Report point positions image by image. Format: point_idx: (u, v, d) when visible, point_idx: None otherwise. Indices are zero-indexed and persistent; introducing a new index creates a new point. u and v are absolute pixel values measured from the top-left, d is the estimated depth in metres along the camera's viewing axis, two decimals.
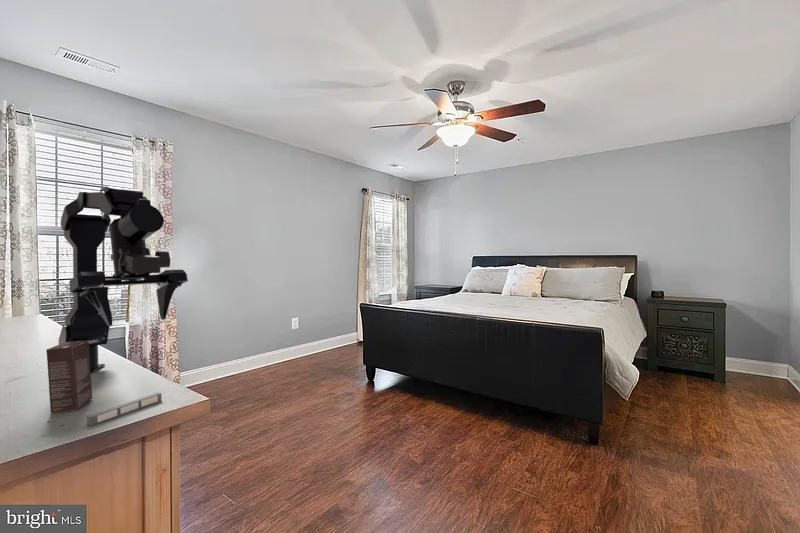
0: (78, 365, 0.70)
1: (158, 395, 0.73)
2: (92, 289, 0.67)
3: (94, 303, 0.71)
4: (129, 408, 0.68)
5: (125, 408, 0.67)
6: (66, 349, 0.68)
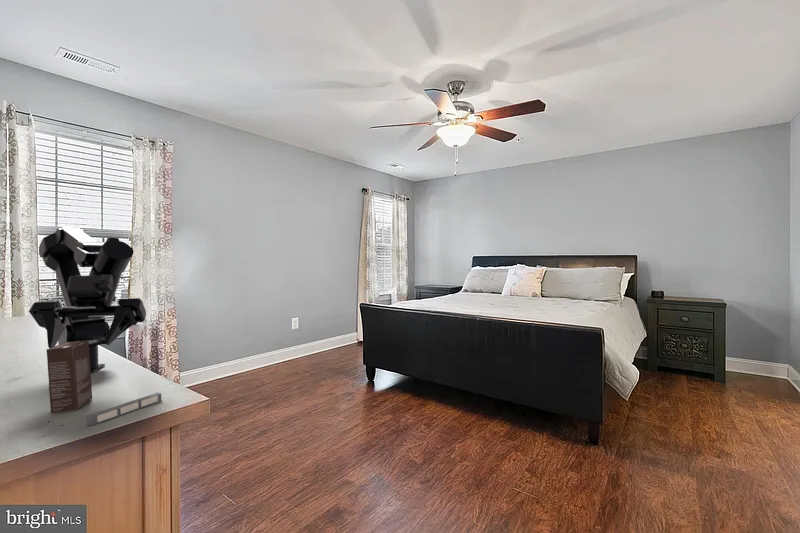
0: (78, 365, 0.70)
1: (158, 395, 0.73)
2: (38, 312, 0.74)
3: None
4: (129, 408, 0.68)
5: (125, 408, 0.67)
6: (66, 349, 0.68)
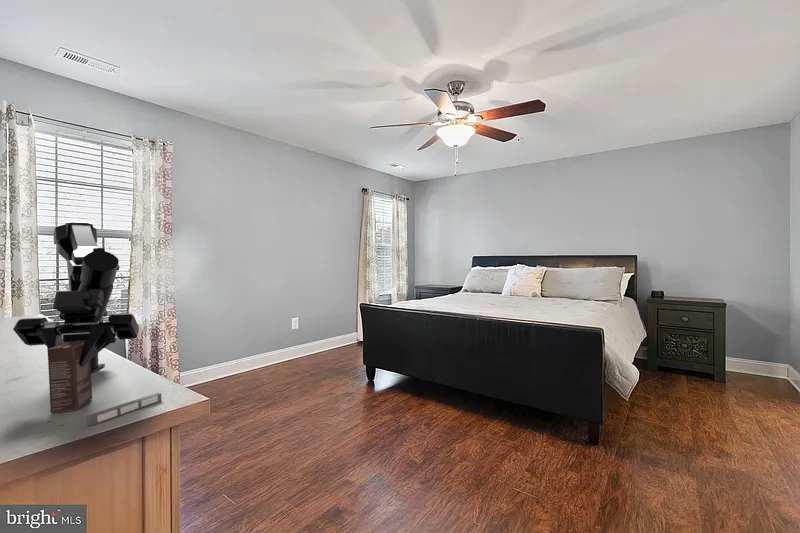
0: (79, 365, 0.70)
1: (158, 395, 0.73)
2: (39, 330, 0.70)
3: None
4: (129, 408, 0.68)
5: (125, 408, 0.67)
6: (67, 349, 0.68)
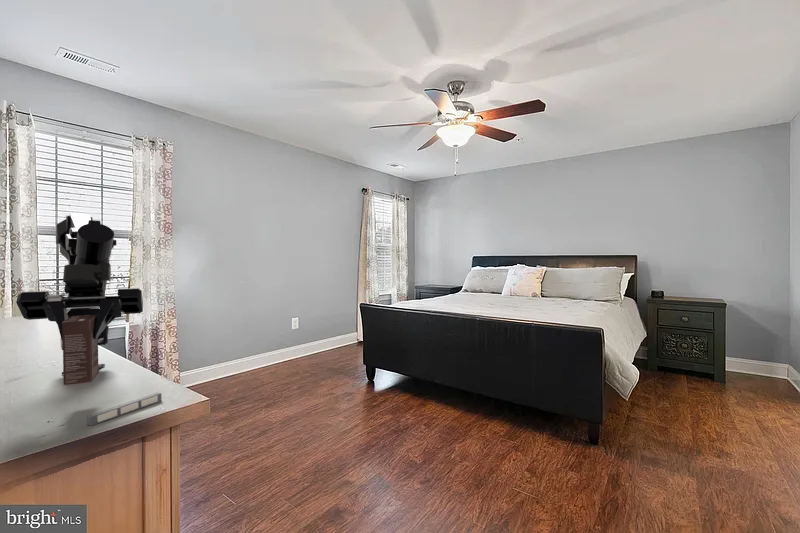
0: (92, 338, 0.71)
1: (158, 395, 0.73)
2: (46, 303, 0.69)
3: None
4: (129, 408, 0.68)
5: (125, 408, 0.67)
6: (83, 322, 0.69)
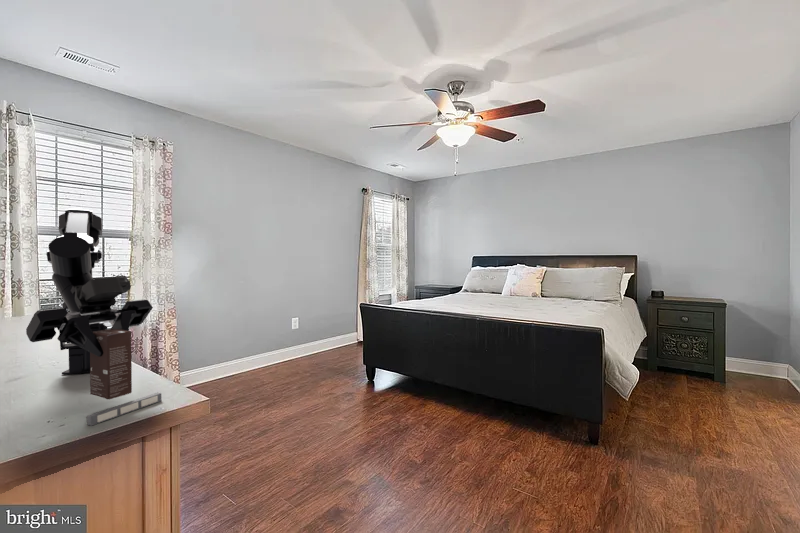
0: None
1: (158, 395, 0.73)
2: (73, 319, 0.66)
3: (76, 342, 0.68)
4: (129, 408, 0.68)
5: (125, 408, 0.67)
6: (126, 334, 0.70)
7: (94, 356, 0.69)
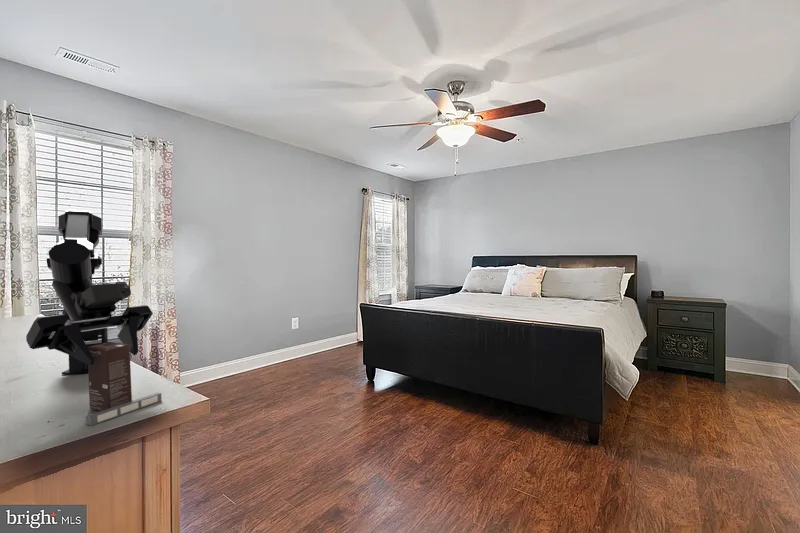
0: None
1: (158, 395, 0.73)
2: (63, 327, 0.64)
3: (66, 350, 0.66)
4: (129, 408, 0.68)
5: (125, 408, 0.67)
6: (124, 347, 0.70)
7: (92, 371, 0.68)
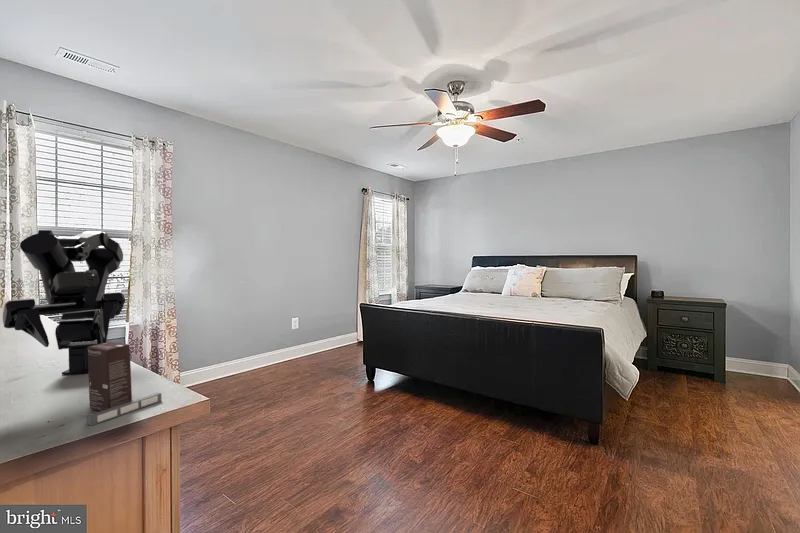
0: None
1: (158, 395, 0.73)
2: (22, 311, 0.71)
3: (30, 332, 0.73)
4: (129, 408, 0.68)
5: (125, 408, 0.67)
6: (124, 347, 0.70)
7: (93, 371, 0.69)
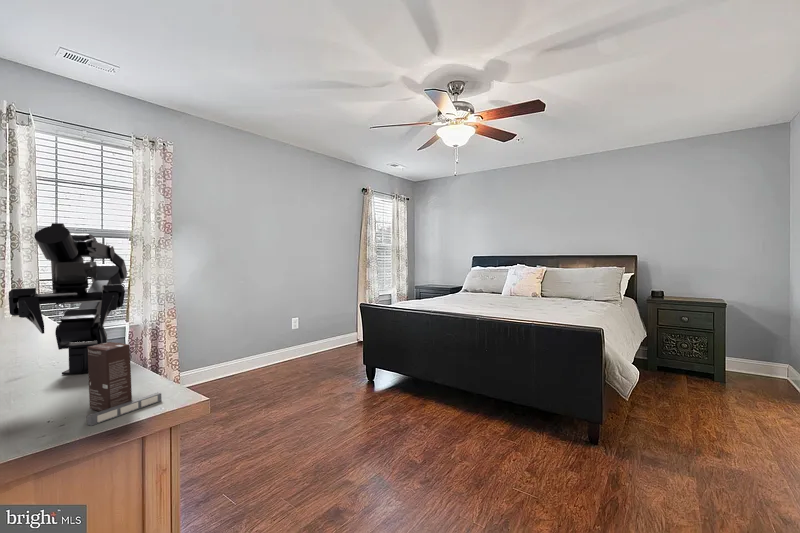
0: None
1: (158, 395, 0.73)
2: (22, 299, 0.74)
3: (31, 319, 0.76)
4: (129, 408, 0.68)
5: (125, 408, 0.67)
6: (124, 347, 0.70)
7: (93, 371, 0.69)
